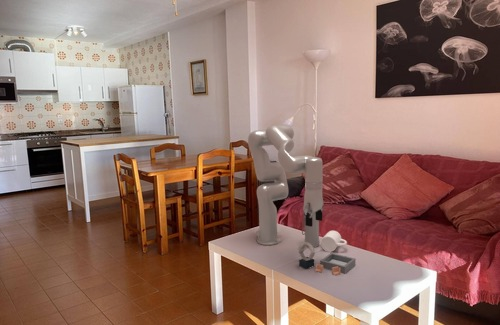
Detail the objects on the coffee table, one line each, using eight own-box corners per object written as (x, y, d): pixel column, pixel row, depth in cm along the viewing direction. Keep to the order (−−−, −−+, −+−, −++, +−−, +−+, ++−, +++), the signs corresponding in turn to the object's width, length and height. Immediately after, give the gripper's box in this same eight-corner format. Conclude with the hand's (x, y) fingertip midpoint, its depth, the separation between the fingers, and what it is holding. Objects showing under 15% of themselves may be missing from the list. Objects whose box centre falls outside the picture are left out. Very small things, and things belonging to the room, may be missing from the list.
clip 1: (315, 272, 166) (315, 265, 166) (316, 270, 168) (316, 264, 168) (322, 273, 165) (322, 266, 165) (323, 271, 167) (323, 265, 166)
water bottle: (321, 243, 199) (321, 197, 195) (315, 248, 193) (315, 200, 189) (305, 241, 204) (305, 195, 200) (298, 245, 198) (298, 198, 194)
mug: (320, 250, 190) (320, 235, 189) (326, 244, 199) (326, 229, 198) (344, 254, 185) (344, 238, 184) (349, 247, 194) (349, 232, 192)
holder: (320, 266, 171) (320, 260, 171) (331, 258, 180) (331, 252, 179) (345, 273, 164) (345, 267, 163) (355, 264, 172) (355, 258, 172)
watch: (304, 261, 177) (303, 239, 176) (317, 267, 171) (317, 243, 170) (295, 265, 174) (295, 242, 172) (309, 270, 168) (309, 246, 166)
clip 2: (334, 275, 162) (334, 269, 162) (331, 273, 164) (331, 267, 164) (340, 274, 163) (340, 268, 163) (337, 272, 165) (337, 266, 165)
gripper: (315, 181, 177) (315, 217, 179) (296, 188, 163) (297, 226, 165) (330, 182, 172) (330, 219, 175) (312, 190, 158) (312, 229, 161)
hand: (314, 223), depth 170 cm, fingers open, 9 cm apart
